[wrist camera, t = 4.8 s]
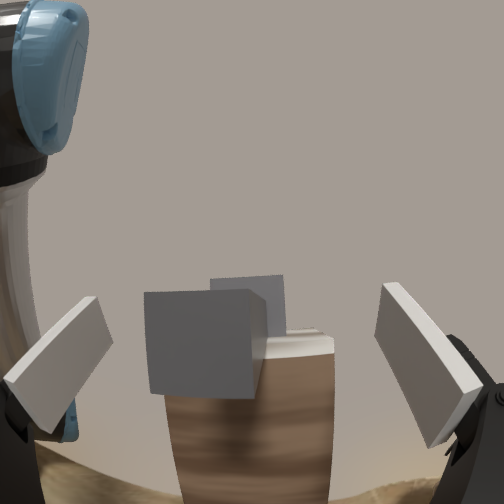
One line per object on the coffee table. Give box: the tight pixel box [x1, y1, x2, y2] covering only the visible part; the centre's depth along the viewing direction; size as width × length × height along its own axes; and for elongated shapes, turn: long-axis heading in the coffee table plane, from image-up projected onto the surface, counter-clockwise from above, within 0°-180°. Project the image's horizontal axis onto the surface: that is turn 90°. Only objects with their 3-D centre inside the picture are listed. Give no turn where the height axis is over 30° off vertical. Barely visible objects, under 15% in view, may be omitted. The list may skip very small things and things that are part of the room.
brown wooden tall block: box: [164, 328, 335, 504], centre depth 19 cm, size 10×12×30 cm
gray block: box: [144, 275, 286, 399], centre depth 17 cm, size 21×6×5 cm, turn 175°
